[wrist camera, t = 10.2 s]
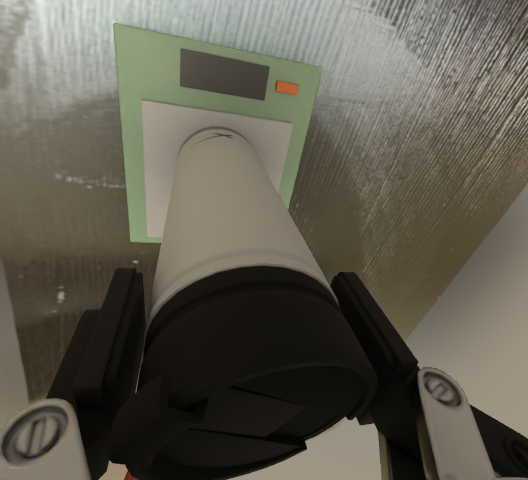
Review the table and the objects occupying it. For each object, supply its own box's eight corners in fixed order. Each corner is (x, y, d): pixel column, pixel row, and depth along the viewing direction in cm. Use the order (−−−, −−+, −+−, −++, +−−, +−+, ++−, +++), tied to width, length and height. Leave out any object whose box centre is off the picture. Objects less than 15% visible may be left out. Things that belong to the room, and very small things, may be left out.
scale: (120, 24, 19) (110, 21, 17) (313, 66, 23) (326, 68, 20) (134, 229, 27) (129, 245, 25) (274, 236, 31) (280, 251, 29)
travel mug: (206, 102, 20) (244, 328, 4) (272, 161, 23) (443, 419, 7) (156, 169, 22) (39, 513, 6) (223, 215, 25) (272, 517, 9)
